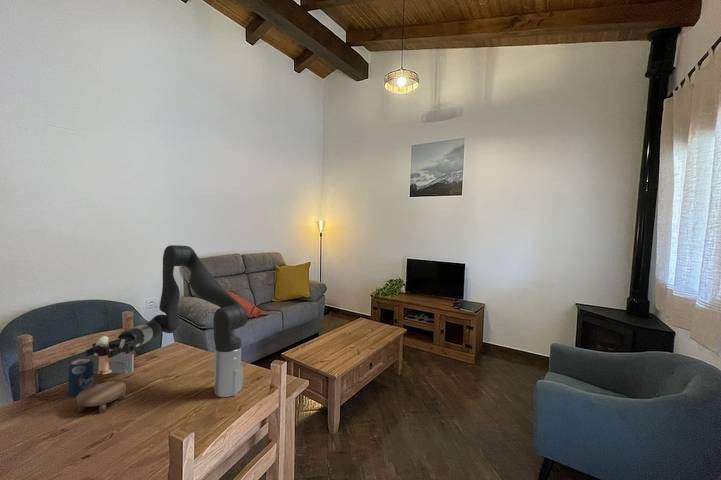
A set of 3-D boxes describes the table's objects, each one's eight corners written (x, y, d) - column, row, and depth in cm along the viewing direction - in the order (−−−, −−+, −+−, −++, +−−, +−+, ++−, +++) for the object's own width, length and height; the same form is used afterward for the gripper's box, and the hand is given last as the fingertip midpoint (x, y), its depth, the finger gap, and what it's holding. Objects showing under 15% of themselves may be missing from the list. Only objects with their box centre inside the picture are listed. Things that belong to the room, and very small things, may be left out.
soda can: (84, 397, 110) (84, 365, 110) (62, 398, 109) (62, 365, 109) (98, 387, 117) (98, 356, 117) (77, 388, 116) (78, 357, 116)
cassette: (100, 373, 128) (101, 355, 127) (104, 371, 129) (104, 354, 129) (131, 373, 129) (131, 355, 129) (134, 371, 131) (134, 354, 130)
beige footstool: (134, 395, 113) (134, 382, 112) (103, 417, 100) (103, 402, 99) (101, 393, 113) (101, 380, 113) (65, 414, 100) (65, 399, 100)
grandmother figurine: (118, 370, 108) (118, 335, 107) (108, 375, 104) (108, 339, 103) (98, 368, 109) (98, 333, 108) (87, 373, 105) (87, 337, 104)
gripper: (119, 326, 121) (78, 342, 104) (153, 328, 120) (117, 344, 103) (119, 345, 121) (78, 363, 105) (153, 347, 120) (117, 366, 104)
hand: (97, 354), depth 104 cm, fingers closed on grandmother figurine, 7 cm apart
